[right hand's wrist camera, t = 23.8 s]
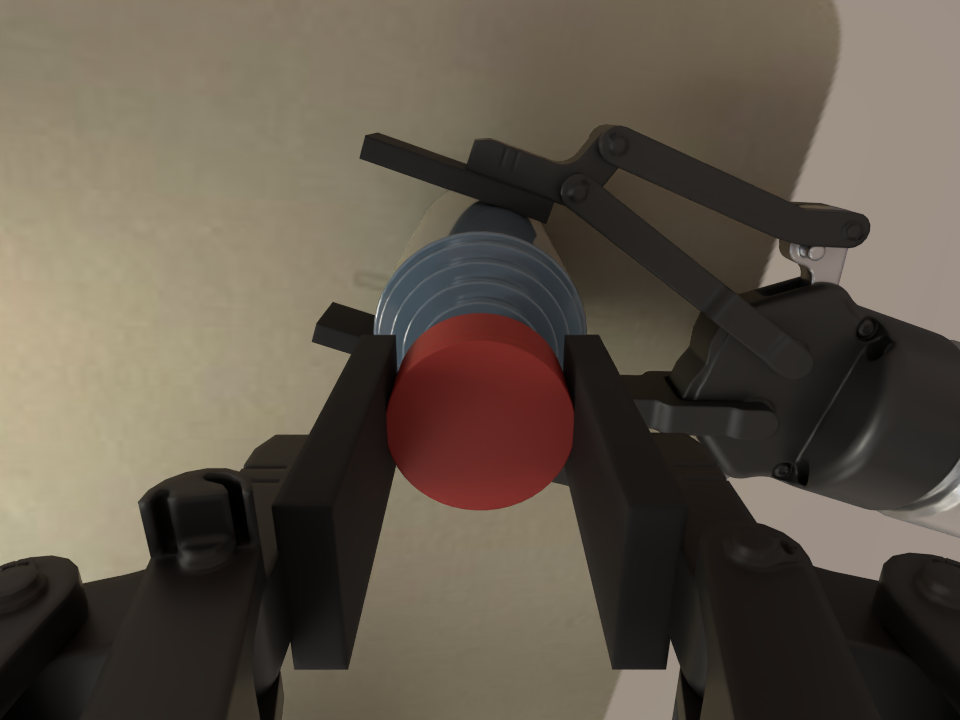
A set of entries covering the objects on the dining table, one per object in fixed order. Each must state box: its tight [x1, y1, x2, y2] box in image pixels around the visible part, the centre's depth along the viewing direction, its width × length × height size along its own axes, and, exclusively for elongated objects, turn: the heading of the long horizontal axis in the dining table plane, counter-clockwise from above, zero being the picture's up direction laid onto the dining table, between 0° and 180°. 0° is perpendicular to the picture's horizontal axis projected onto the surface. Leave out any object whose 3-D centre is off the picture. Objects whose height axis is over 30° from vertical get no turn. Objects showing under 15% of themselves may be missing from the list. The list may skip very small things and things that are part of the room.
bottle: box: [373, 190, 587, 371], centre depth 21 cm, size 6×6×17 cm
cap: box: [386, 313, 574, 510], centre depth 13 cm, size 4×4×2 cm
